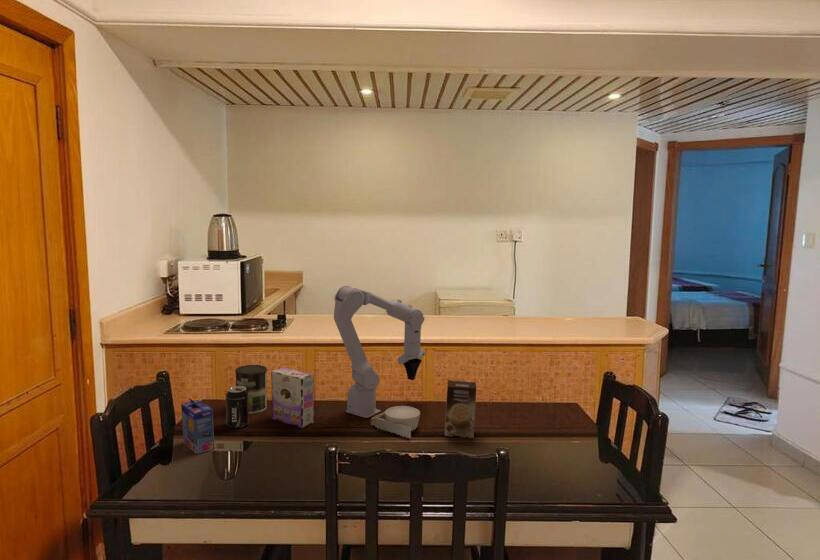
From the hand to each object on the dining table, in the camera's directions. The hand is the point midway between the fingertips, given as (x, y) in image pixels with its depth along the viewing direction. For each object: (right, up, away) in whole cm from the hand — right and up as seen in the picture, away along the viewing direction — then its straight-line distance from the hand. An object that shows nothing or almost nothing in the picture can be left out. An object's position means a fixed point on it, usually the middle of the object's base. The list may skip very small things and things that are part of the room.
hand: (411, 379), depth 188 cm
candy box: (-39, -11, -16) cm, 43 cm away
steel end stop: (-6, -12, -24) cm, 27 cm away
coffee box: (+15, -13, -22) cm, 30 cm away
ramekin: (-3, -12, -19) cm, 23 cm away
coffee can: (-55, -9, -6) cm, 56 cm away
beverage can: (-55, -11, -21) cm, 60 cm away
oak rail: (-9, -11, -13) cm, 19 cm away
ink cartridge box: (-62, -13, -36) cm, 72 cm away
